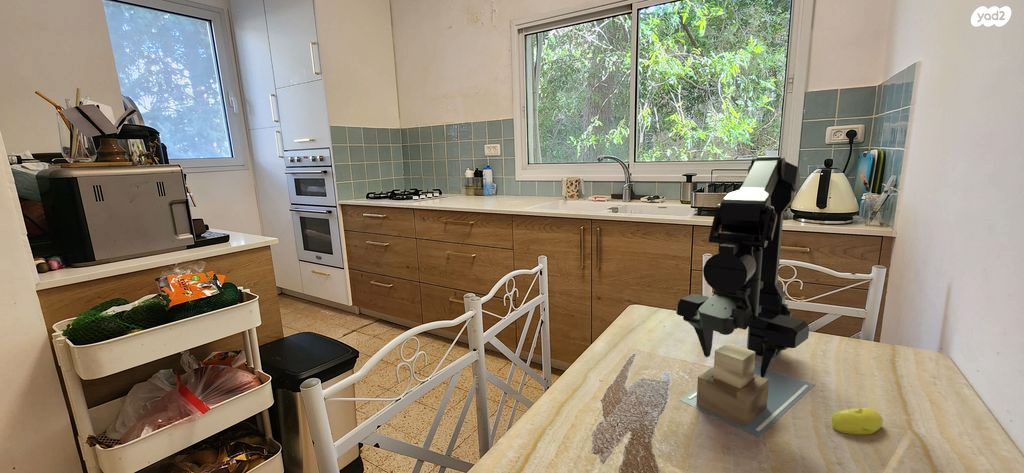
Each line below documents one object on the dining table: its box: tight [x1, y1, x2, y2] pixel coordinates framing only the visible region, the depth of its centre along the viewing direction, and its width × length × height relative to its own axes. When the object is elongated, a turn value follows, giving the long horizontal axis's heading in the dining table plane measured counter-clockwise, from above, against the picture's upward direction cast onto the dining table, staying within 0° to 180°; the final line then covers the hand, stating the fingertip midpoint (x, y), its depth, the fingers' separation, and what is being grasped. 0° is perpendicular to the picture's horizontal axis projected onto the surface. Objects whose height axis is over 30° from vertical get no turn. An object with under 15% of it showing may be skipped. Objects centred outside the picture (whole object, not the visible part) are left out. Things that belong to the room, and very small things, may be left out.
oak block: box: [713, 342, 756, 389], centre depth 71 cm, size 4×4×6 cm
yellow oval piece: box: [831, 407, 884, 435], centre depth 66 cm, size 4×8×4 cm, turn 94°
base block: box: [696, 366, 769, 427], centre depth 72 cm, size 8×8×5 cm
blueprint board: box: [679, 363, 816, 438], centre depth 76 cm, size 23×13×1 cm, turn 127°
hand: (733, 366), depth 71 cm, fingers open, 9 cm apart
